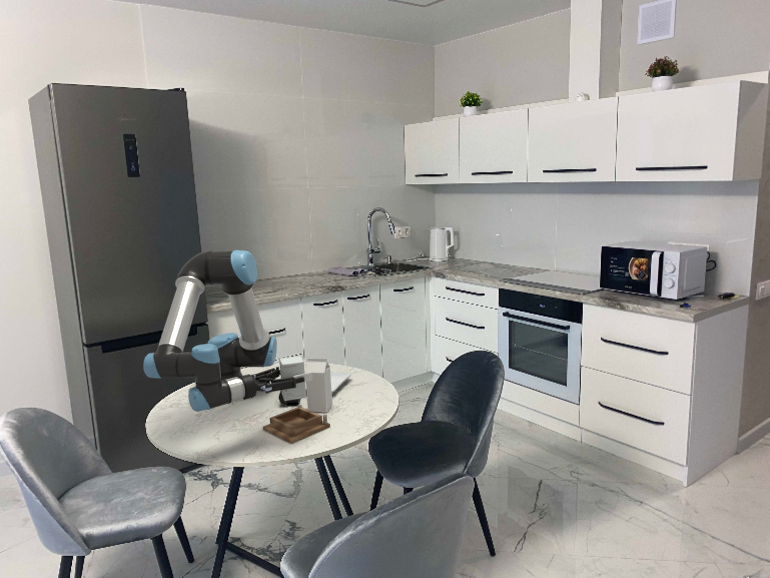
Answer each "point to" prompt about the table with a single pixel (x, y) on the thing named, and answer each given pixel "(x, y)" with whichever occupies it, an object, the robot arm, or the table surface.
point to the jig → (296, 424)
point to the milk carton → (319, 385)
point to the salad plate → (337, 379)
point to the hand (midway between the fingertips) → (304, 372)
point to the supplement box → (288, 370)
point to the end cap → (288, 401)
